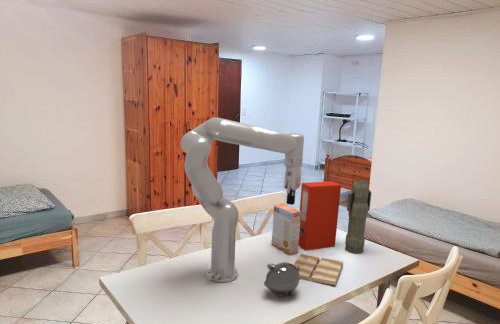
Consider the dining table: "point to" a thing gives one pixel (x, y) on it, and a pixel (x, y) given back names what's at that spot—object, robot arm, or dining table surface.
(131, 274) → the dining table surface
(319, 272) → the board
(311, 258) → the laid planks
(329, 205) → the file binder
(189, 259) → the dining table surface
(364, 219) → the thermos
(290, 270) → the piggy bank
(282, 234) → the cracker box
